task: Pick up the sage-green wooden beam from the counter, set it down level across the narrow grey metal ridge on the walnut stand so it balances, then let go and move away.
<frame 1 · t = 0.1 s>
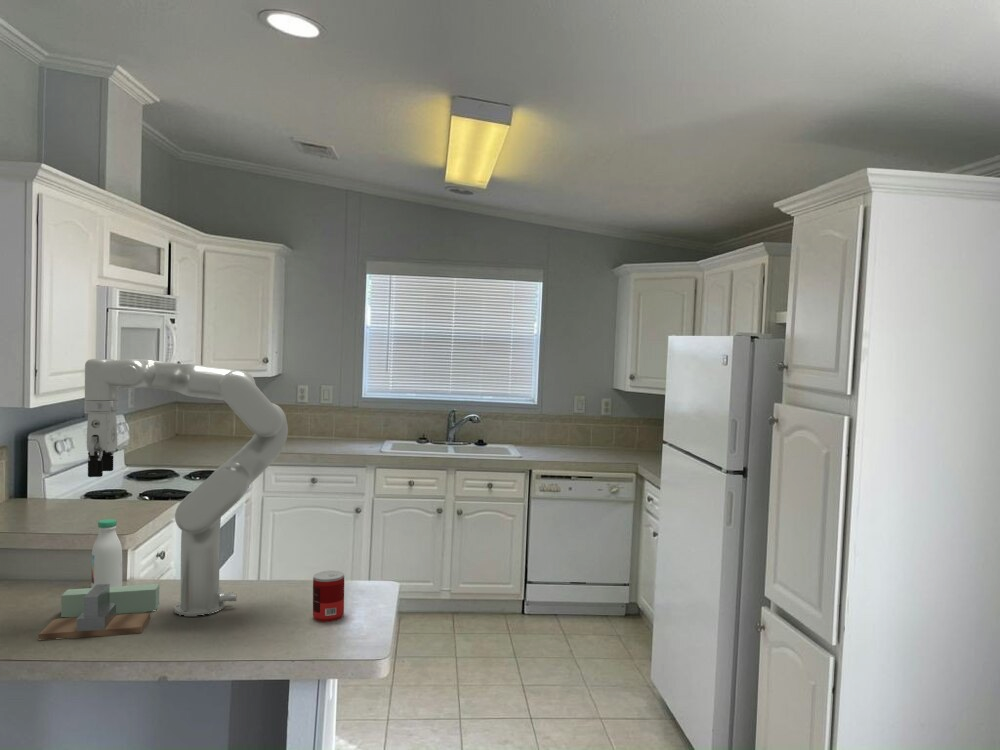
hand: (100, 473, 184), 37 cm above the countertop, tool pointing down, fingers open, 9 cm apart
milk bottle: (106, 590, 205), on the countertop
beam: (111, 612, 188), on the countertop
canned food: (328, 617, 186), on the countertop
stand: (96, 629, 175), on the countertop
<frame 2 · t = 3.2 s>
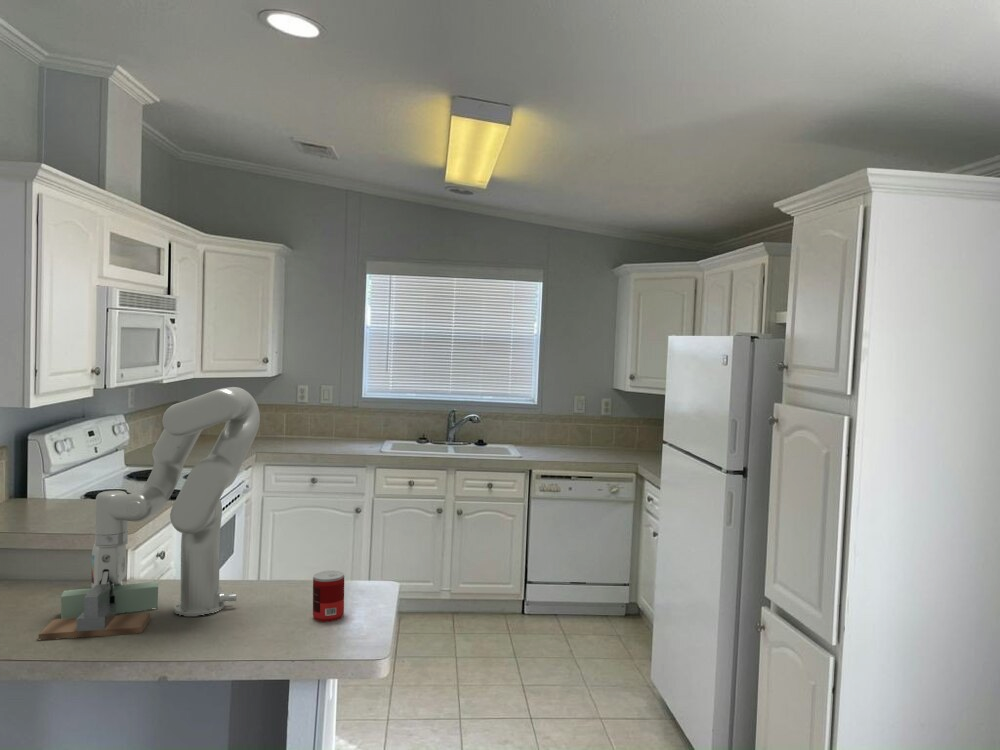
hand: (110, 606, 188), 1 cm above the countertop, tool pointing down, fingers closed on beam, 5 cm apart
beam: (111, 611, 188), on the countertop, touching gripper
everything else where it was.
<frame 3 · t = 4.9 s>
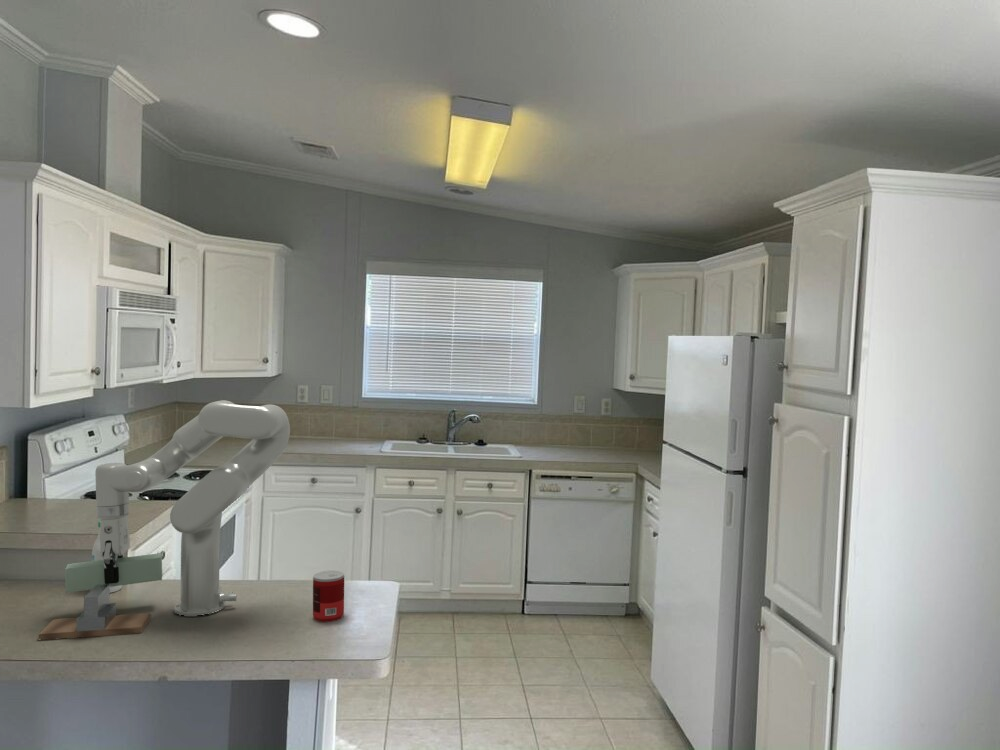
hand: (115, 578, 188), 8 cm above the countertop, tool pointing down, fingers closed on beam, 5 cm apart
beam: (115, 583, 188), point 7 cm above the countertop, touching gripper
everything else where it was.
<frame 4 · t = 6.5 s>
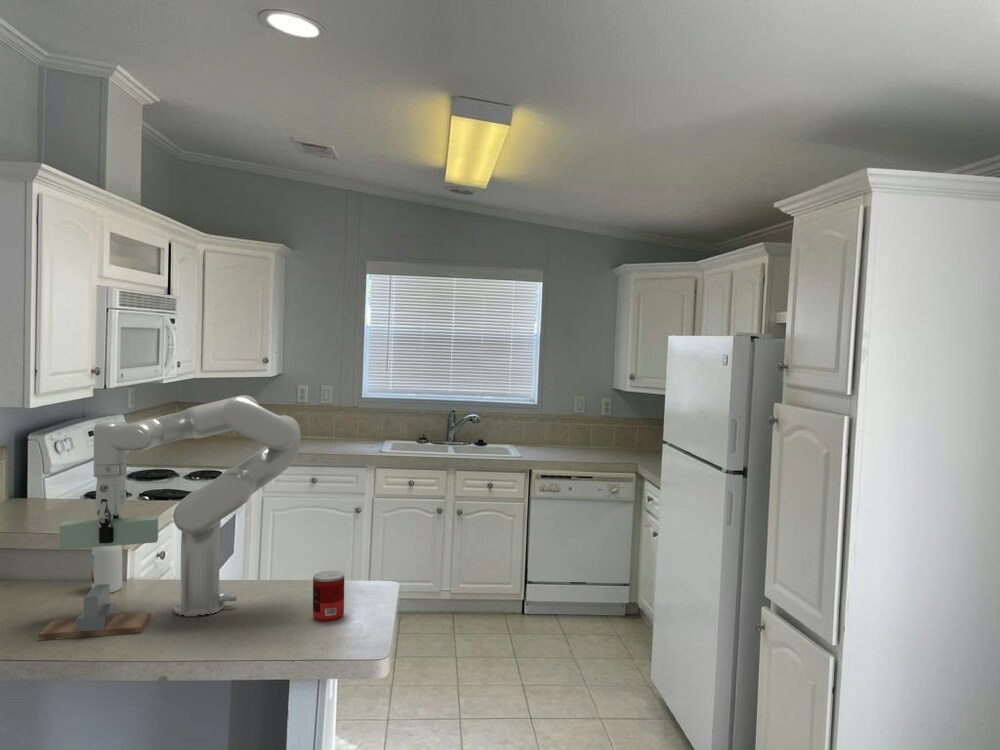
hand: (110, 539, 186), 19 cm above the countertop, tool pointing down, fingers closed on beam, 5 cm apart
beam: (110, 543, 186), point 18 cm above the countertop, touching gripper
everything else where it was.
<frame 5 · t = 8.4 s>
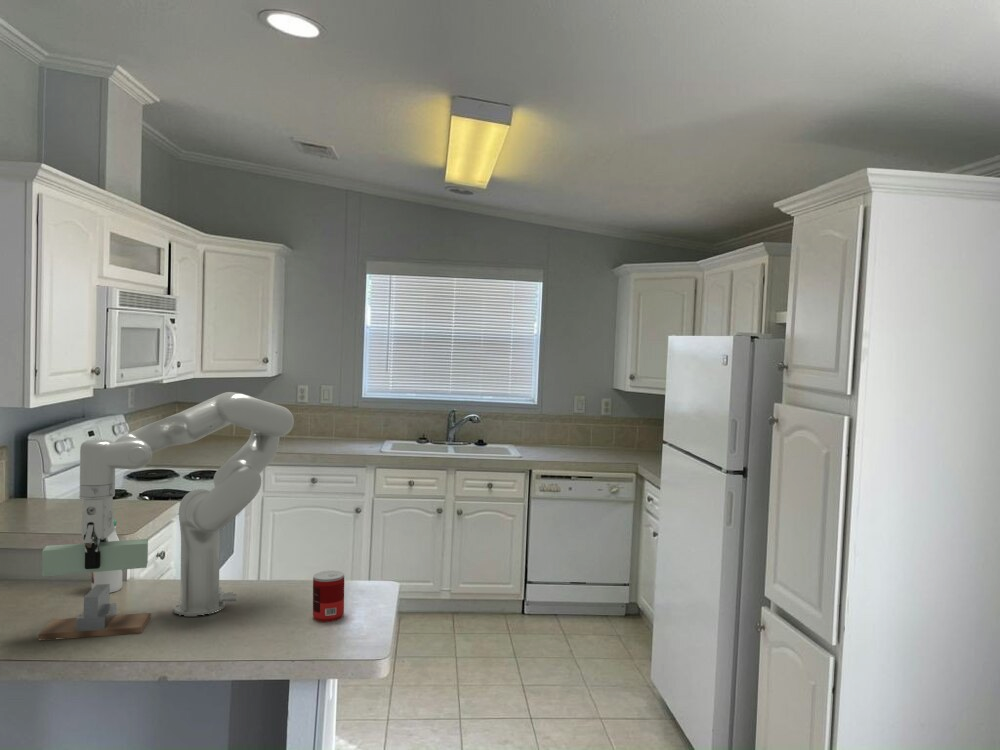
hand: (96, 564, 175), 16 cm above the countertop, tool pointing down, fingers closed on beam, 5 cm apart
beam: (96, 569, 175), point 15 cm above the countertop, touching gripper
everything else where it was.
when the fingers open (11 cm above the countertop, at t = 9.8 s): beam stays where it is, resting on stand.
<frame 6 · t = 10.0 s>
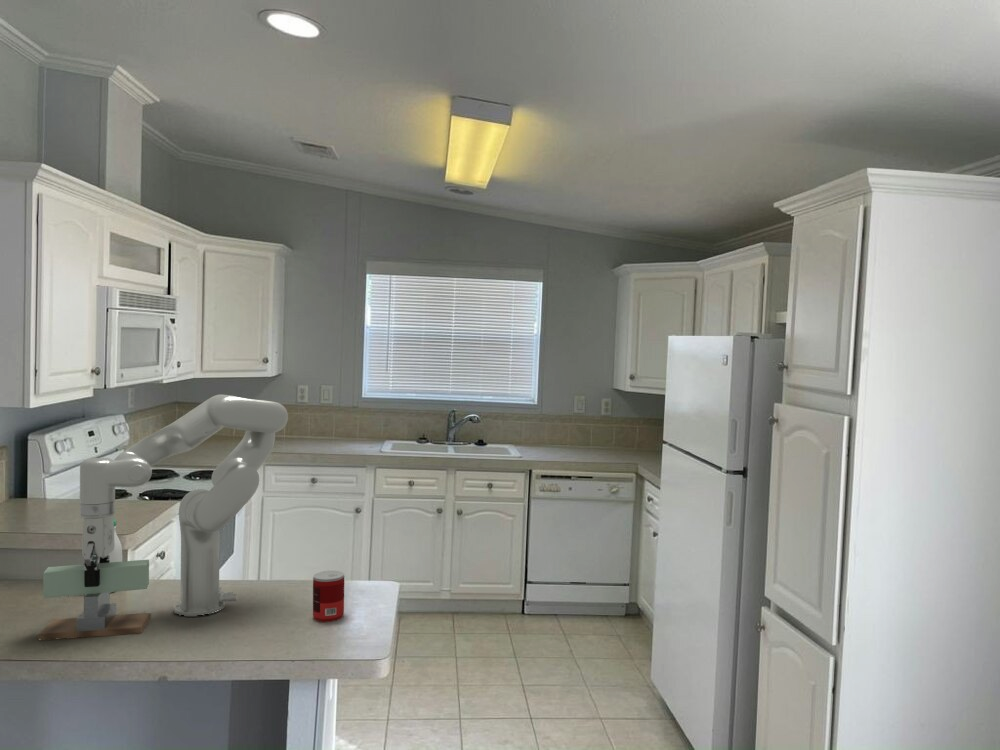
hand: (97, 580, 175), 12 cm above the countertop, tool pointing down, fingers open, 7 cm apart
beam: (97, 590, 175), point 9 cm above the countertop, touching stand
everything else where it was.
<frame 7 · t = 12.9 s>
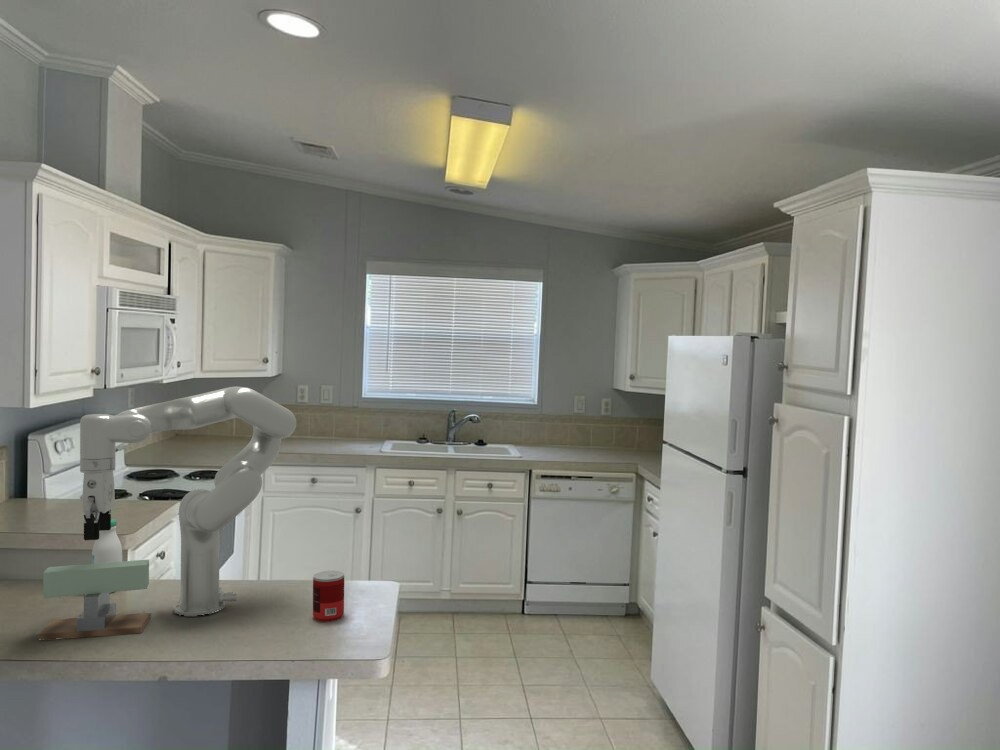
hand: (97, 534, 175), 23 cm above the countertop, tool pointing down, fingers open, 9 cm apart
nothing on the countertop moved.
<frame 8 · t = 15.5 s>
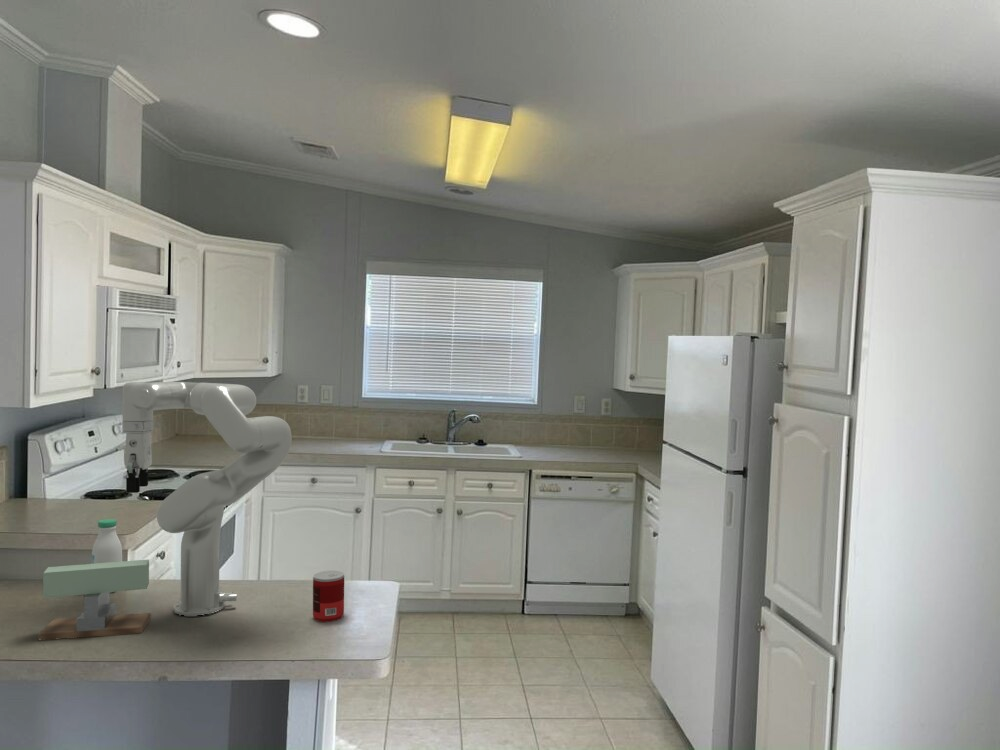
hand: (137, 489, 197), 30 cm above the countertop, tool pointing down, fingers open, 9 cm apart
nothing on the countertop moved.
at the end: beam 0.2 cm off-centre on the stand, point 9.5 cm above the stand's base; beam tilted 0°; the gripper is holding nothing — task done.
